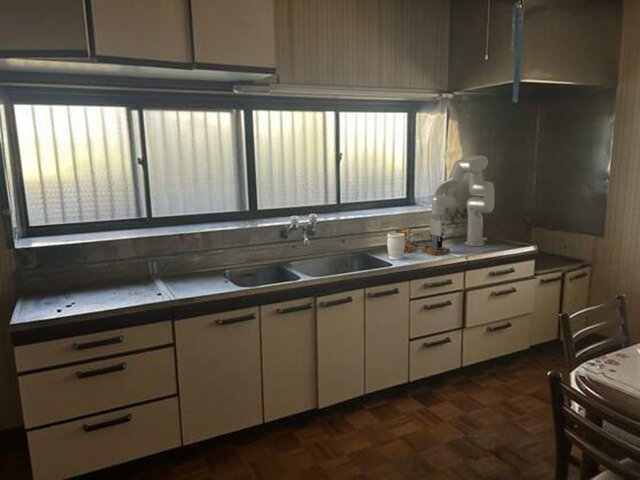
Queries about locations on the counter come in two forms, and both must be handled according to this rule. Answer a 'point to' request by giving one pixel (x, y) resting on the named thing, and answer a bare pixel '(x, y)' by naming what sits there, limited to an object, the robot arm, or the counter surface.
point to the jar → (395, 245)
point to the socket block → (431, 250)
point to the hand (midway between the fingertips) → (437, 246)
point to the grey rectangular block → (435, 243)
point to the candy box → (405, 238)
